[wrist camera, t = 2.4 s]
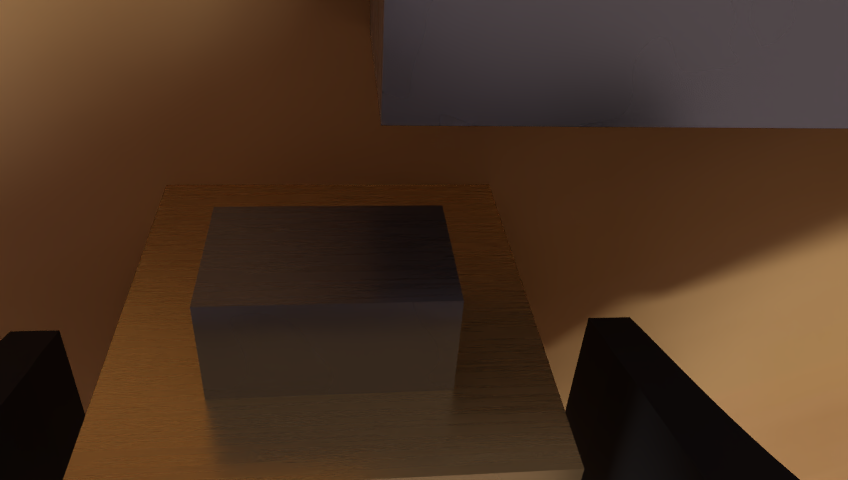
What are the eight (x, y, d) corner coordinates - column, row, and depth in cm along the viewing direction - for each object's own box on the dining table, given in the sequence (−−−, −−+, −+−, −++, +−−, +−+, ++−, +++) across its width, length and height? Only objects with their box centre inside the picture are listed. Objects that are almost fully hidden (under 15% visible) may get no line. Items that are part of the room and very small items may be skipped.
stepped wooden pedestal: (461, 397, 13) (518, 697, 9) (204, 406, 13) (145, 729, 9) (496, 109, 10) (609, 378, 6) (153, 106, 9) (19, 399, 5)
